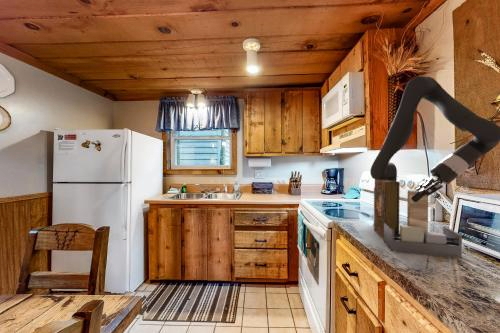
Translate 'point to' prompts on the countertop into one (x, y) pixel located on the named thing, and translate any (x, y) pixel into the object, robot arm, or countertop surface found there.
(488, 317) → the countertop surface
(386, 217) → the book
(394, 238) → the rack
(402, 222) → the countertop surface
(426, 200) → the birch board
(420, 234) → the sage offcut
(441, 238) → the pale grey block
